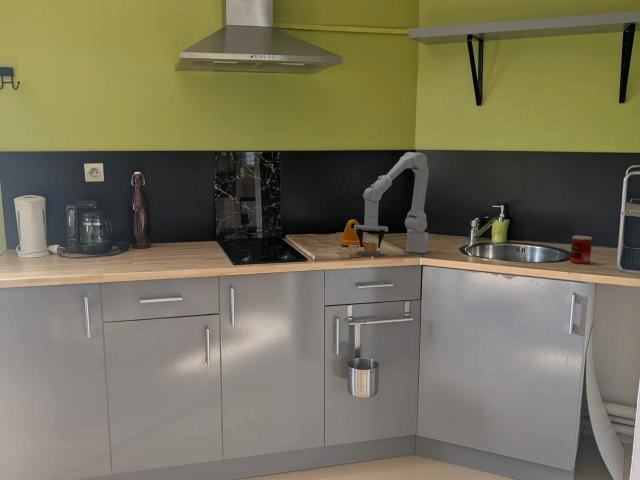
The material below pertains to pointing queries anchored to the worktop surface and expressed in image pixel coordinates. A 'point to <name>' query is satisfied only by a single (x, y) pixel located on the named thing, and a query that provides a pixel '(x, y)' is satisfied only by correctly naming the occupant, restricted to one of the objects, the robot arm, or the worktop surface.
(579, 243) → the canned food
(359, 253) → the post block
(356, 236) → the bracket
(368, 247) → the ring
